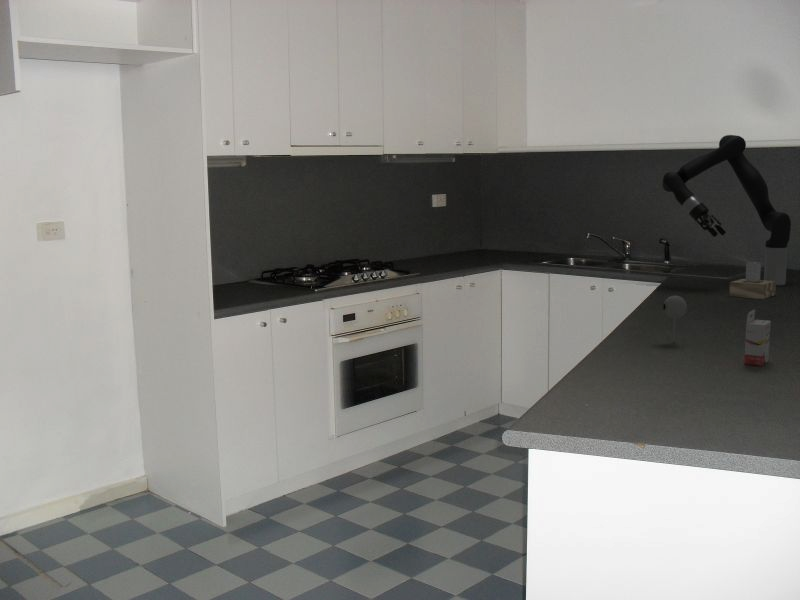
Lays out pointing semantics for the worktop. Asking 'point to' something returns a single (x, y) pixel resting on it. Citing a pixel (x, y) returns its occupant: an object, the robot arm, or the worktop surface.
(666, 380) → the worktop surface
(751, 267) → the grey square pillar
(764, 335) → the ink cartridge box
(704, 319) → the worktop surface
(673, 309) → the lollipop
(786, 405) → the worktop surface
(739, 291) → the well block
